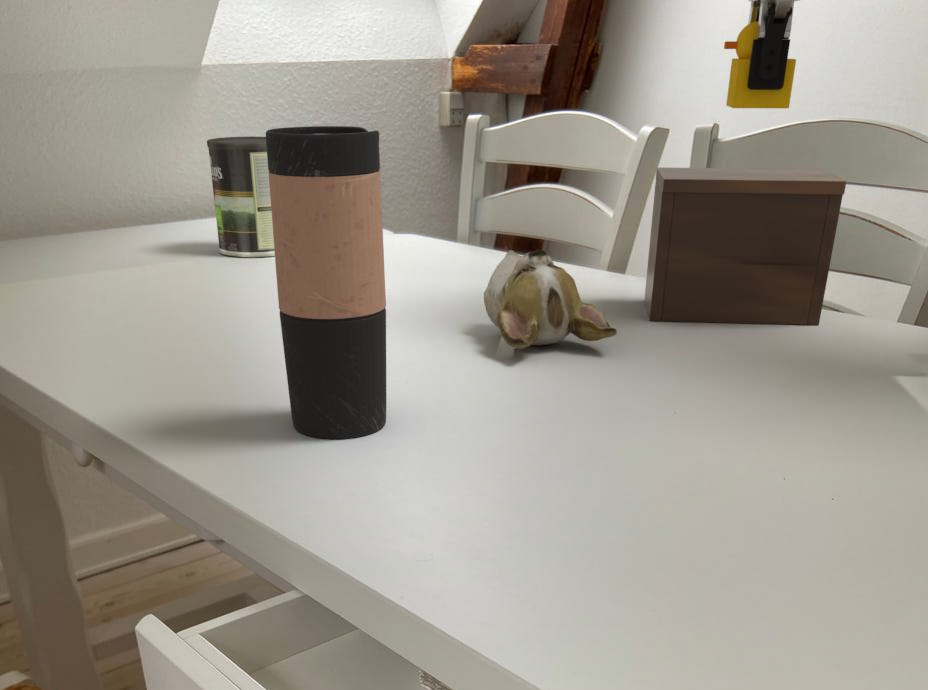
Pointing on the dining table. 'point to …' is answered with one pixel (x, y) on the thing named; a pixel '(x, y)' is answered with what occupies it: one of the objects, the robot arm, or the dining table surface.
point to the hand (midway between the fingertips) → (760, 86)
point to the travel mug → (330, 276)
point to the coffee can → (242, 196)
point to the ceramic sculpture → (539, 303)
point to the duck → (740, 71)
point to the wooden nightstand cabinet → (741, 244)
